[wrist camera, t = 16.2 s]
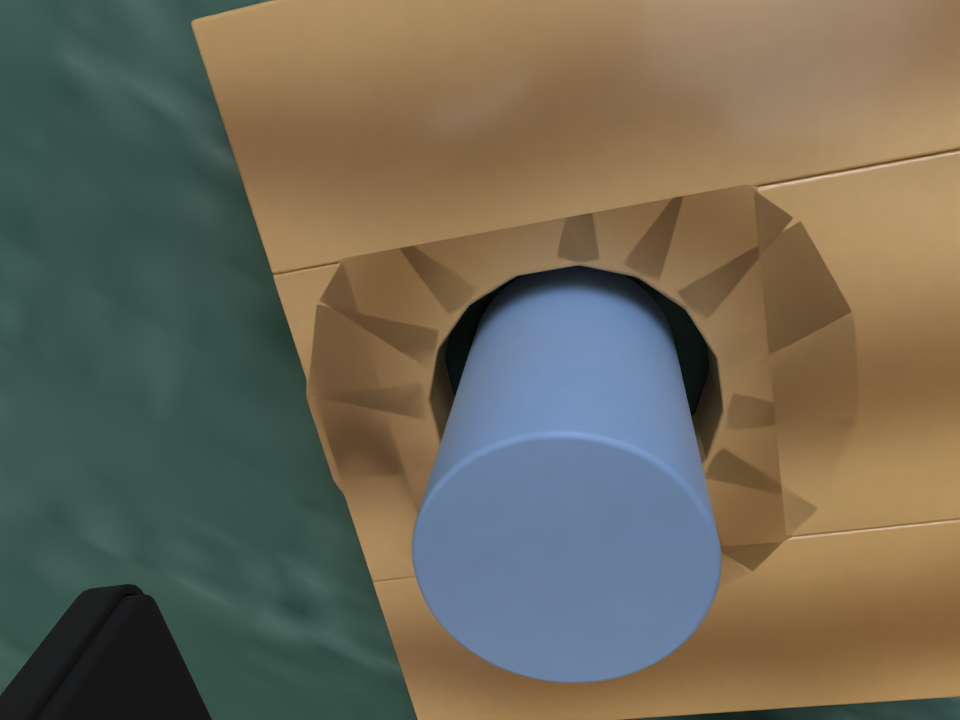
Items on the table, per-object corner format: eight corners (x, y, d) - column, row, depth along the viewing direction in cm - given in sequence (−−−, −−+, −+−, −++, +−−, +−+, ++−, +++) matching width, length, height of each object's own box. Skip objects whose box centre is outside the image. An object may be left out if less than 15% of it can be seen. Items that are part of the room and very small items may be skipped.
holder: (227, 17, 16) (180, 23, 14) (926, -157, 14) (977, -177, 12) (430, 671, 22) (416, 734, 20) (937, 630, 20) (971, 696, 18)
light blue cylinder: (453, 280, 18) (376, 455, 11) (660, 244, 17) (703, 411, 10) (495, 456, 19) (449, 696, 13) (686, 431, 18) (737, 673, 12)
